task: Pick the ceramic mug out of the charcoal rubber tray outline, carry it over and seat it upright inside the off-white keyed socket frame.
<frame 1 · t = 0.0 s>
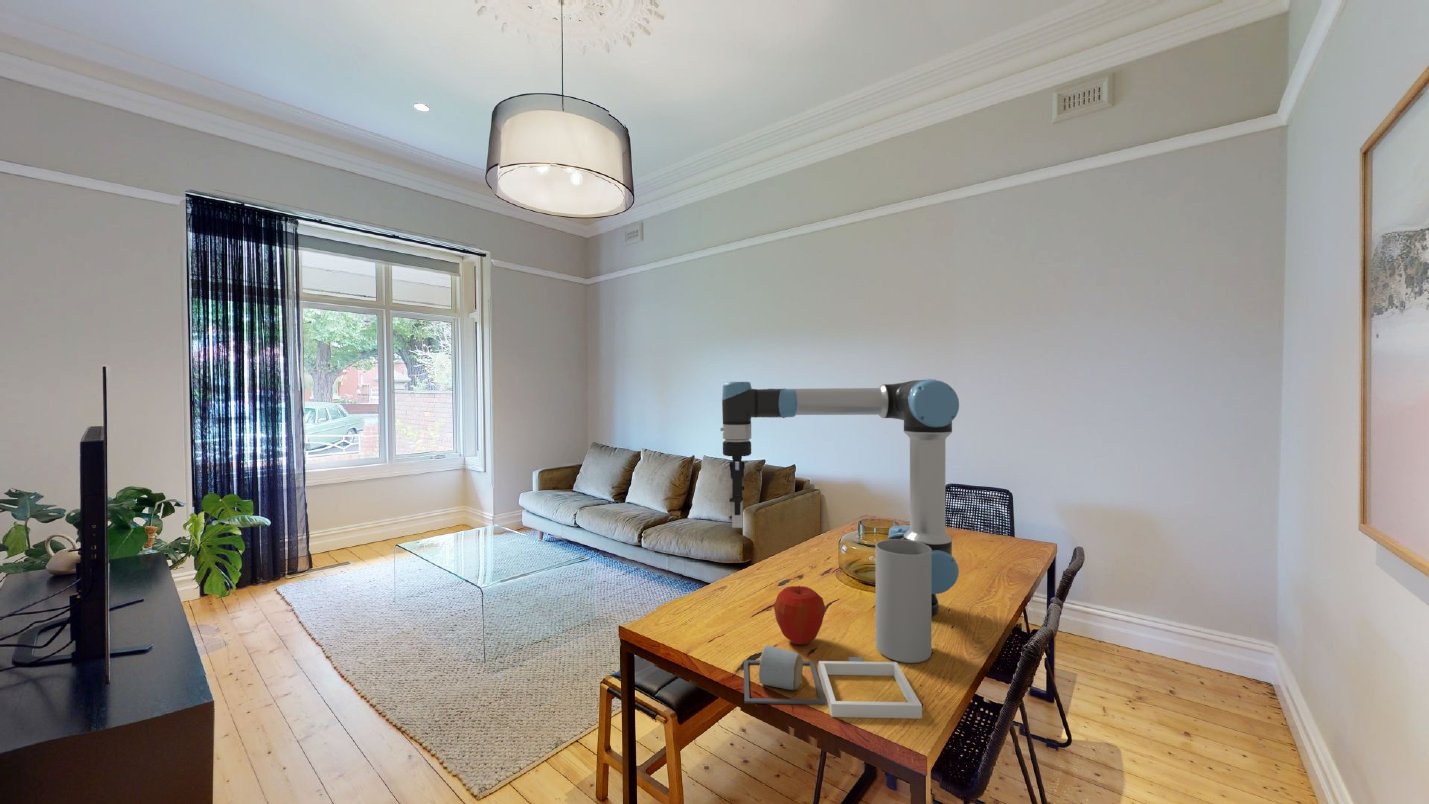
hand: (737, 520, 140), 28 cm above the table, fingers open, 13 cm apart
cylinder vase: (903, 652, 126), on the table
apple: (799, 642, 131), on the table
socket: (866, 693, 108), on the table
ceramic mug: (781, 682, 113), on the table
tray outline: (781, 681, 113), on the table
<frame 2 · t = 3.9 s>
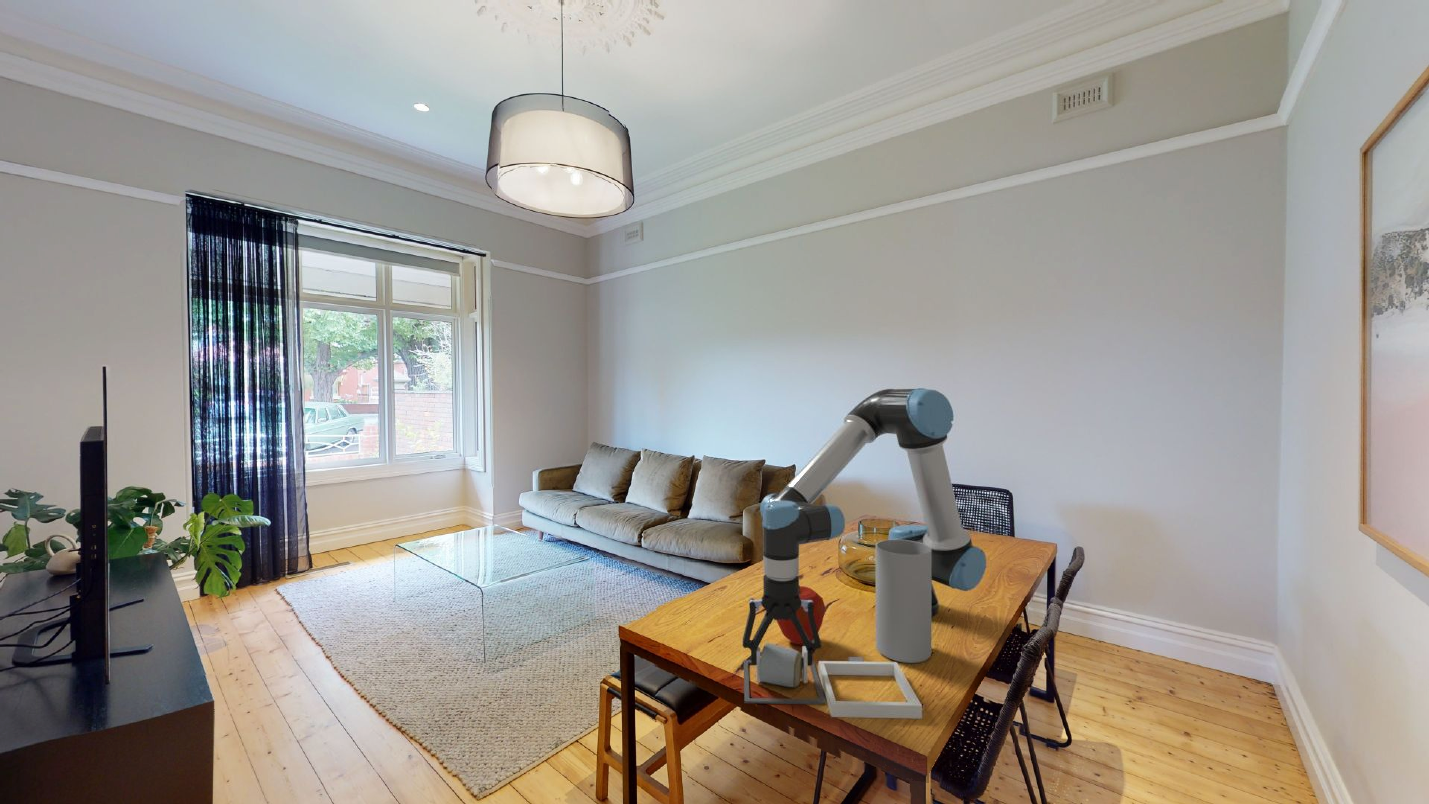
hand: (781, 679, 113), 1 cm above the table, fingers closed on ceramic mug, 9 cm apart
ceramic mug: (781, 680, 114), on the table, touching gripper
everything else where it was.
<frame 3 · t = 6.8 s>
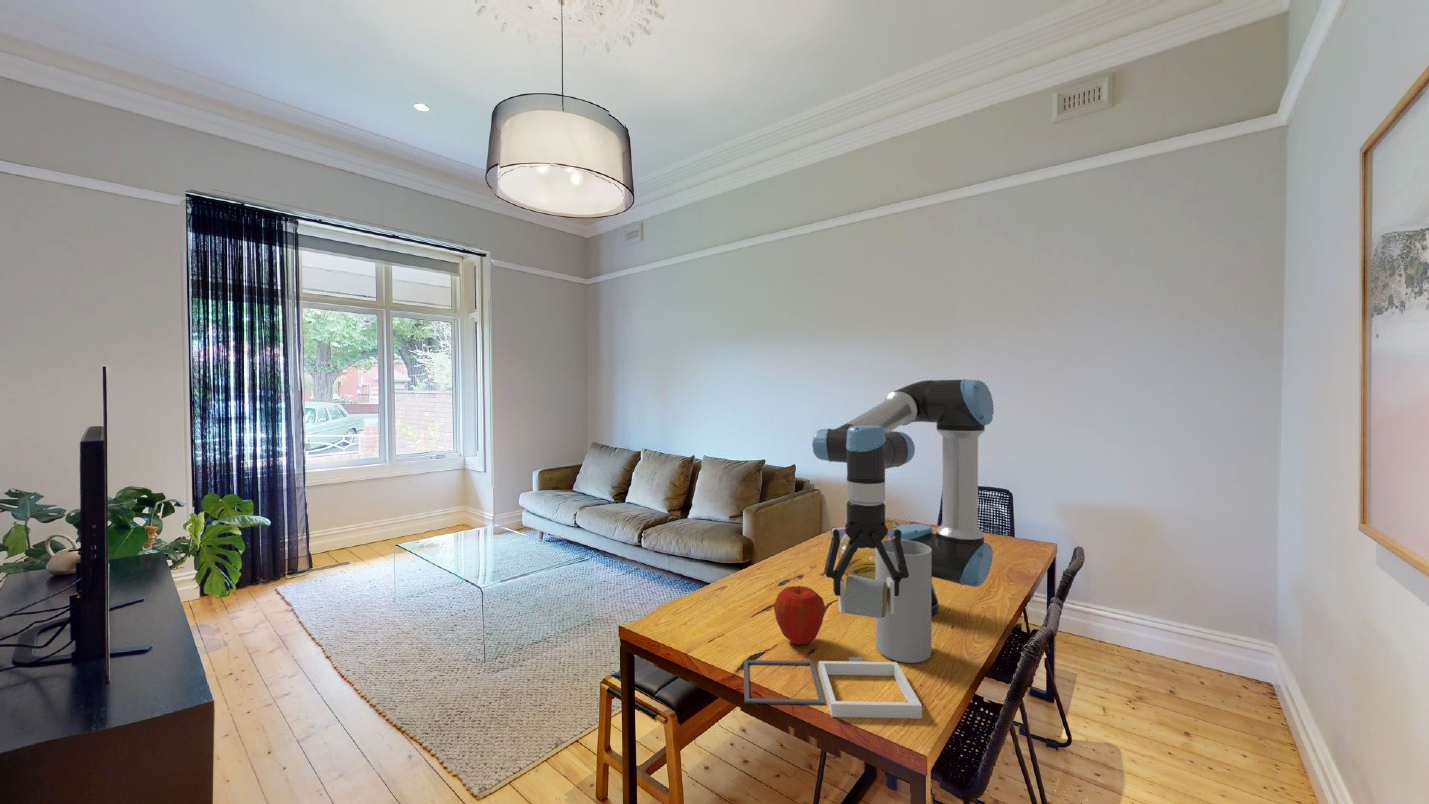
hand: (866, 610, 108), 17 cm above the table, fingers closed on ceramic mug, 9 cm apart
ceramic mug: (865, 612, 109), point 16 cm above the table, touching gripper
everything else where it was.
when the fingers open (3 cm above the table, at t = 9.8 s): ceramic mug drops 2 cm, on the table.
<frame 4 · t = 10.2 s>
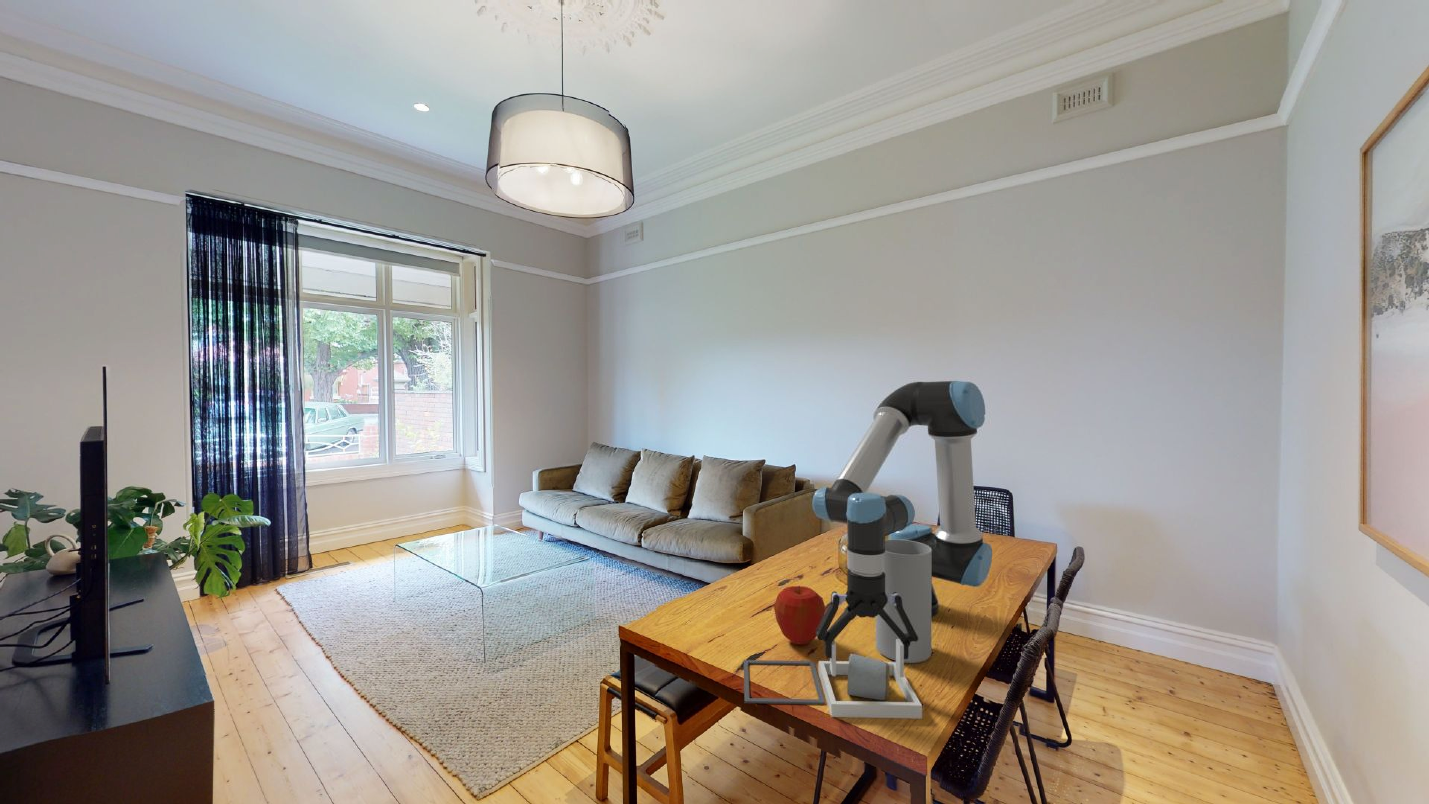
hand: (866, 673, 108), 4 cm above the table, fingers open, 13 cm apart
ceramic mug: (867, 692, 109), on the table
everything else where it was.
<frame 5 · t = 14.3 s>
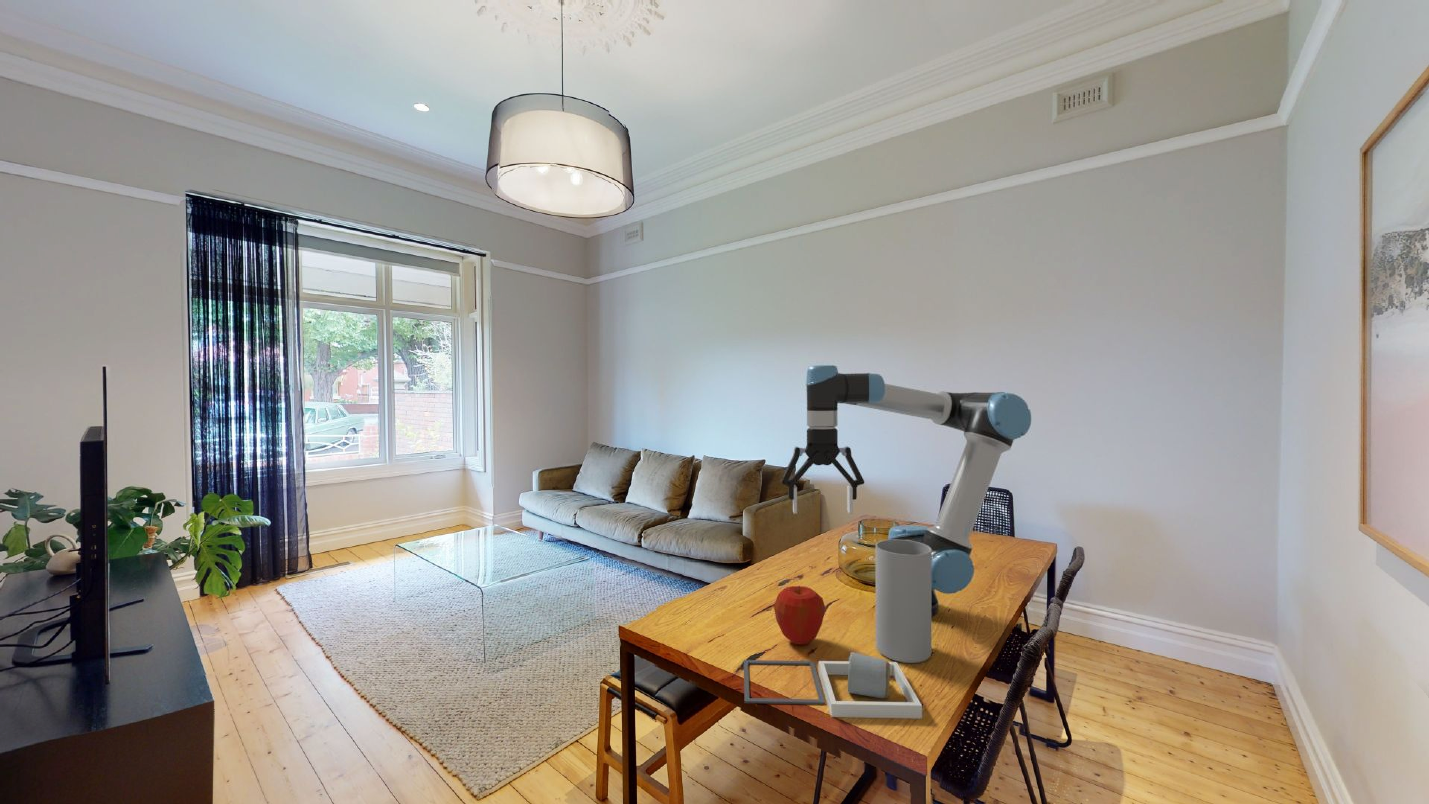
hand: (822, 512, 132), 32 cm above the table, fingers open, 13 cm apart
nothing on the table moved.
at the end: ceramic mug inside the target area on the socket (1.7 cm from its centre), point 0.0 cm above the socket's base; ceramic mug tilted 1°; the gripper is holding nothing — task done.
